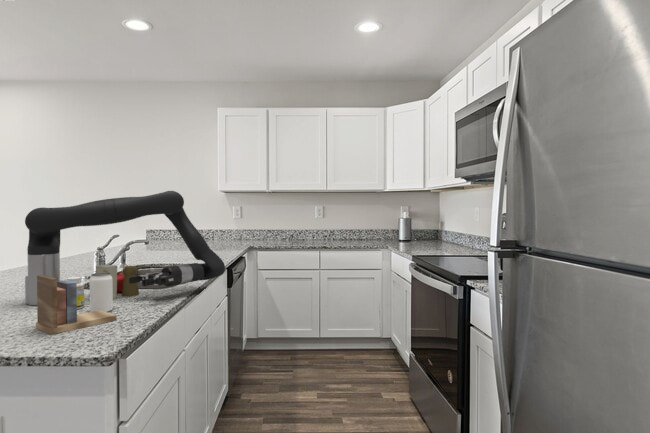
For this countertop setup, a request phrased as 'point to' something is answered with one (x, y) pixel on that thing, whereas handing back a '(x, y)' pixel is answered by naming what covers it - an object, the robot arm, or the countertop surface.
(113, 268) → the skincare box
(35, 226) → the robot arm
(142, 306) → the countertop surface
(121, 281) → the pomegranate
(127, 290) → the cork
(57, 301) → the wooden bookend
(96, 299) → the can
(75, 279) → the supplement bottle
